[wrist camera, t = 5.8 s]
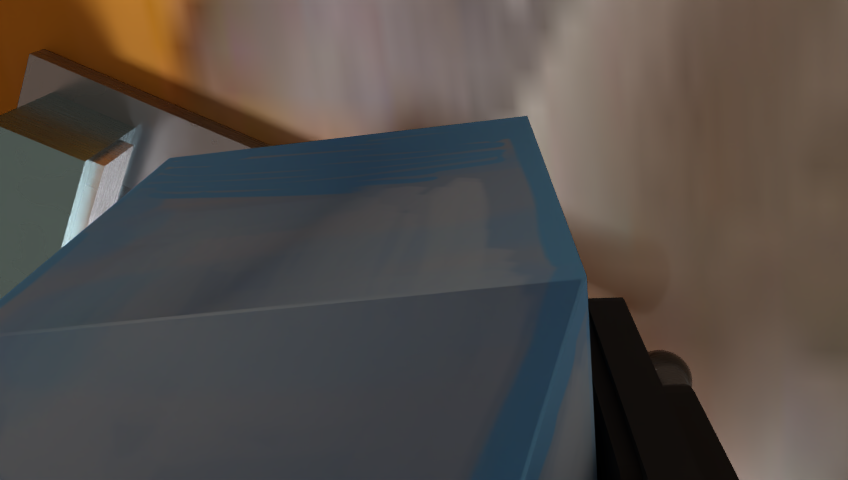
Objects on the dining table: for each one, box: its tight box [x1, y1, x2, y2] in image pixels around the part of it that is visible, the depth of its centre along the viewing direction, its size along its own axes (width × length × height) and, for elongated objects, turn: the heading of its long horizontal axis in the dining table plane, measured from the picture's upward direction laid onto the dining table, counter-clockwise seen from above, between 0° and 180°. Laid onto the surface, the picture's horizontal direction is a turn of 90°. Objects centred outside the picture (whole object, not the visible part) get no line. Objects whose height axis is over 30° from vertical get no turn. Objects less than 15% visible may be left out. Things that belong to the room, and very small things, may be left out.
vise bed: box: [0, 49, 270, 299], centre depth 28 cm, size 20×11×5 cm, turn 66°
